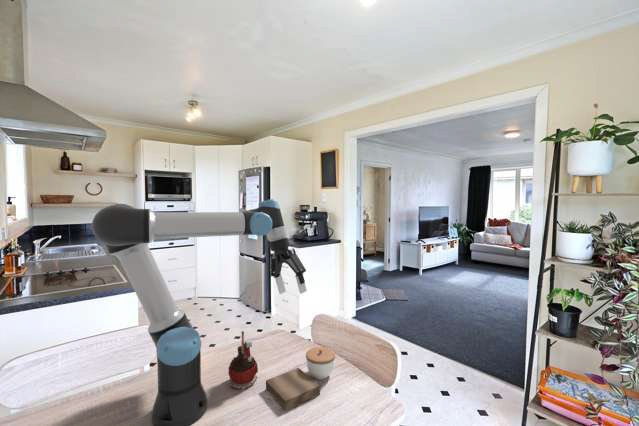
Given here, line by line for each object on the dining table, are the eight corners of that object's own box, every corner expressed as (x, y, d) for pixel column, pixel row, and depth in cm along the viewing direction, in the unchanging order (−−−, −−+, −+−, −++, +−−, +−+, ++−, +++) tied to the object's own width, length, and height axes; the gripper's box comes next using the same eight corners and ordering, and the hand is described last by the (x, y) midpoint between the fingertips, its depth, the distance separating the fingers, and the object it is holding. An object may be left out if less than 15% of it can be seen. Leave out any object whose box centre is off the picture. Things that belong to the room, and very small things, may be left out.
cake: (226, 377, 108) (226, 328, 107) (252, 370, 112) (252, 323, 111) (232, 394, 98) (232, 340, 98) (260, 386, 103) (260, 334, 102)
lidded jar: (335, 367, 115) (335, 343, 114) (334, 384, 104) (334, 357, 104) (307, 365, 116) (308, 341, 115) (303, 382, 105) (303, 356, 105)
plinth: (285, 410, 91) (285, 401, 91) (265, 389, 101) (265, 380, 101) (319, 394, 99) (320, 385, 99) (298, 375, 109) (298, 367, 109)
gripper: (305, 231, 109) (320, 288, 109) (269, 241, 128) (282, 289, 127) (289, 236, 104) (305, 295, 104) (253, 245, 123) (267, 296, 122)
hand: (292, 292), depth 115 cm, fingers open, 13 cm apart
